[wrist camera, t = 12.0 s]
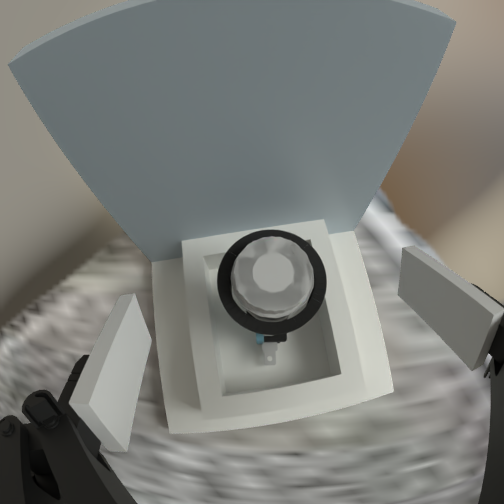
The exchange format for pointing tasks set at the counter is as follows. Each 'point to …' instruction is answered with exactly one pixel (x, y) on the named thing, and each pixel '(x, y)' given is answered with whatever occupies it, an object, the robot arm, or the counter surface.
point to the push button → (271, 285)
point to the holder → (242, 173)
